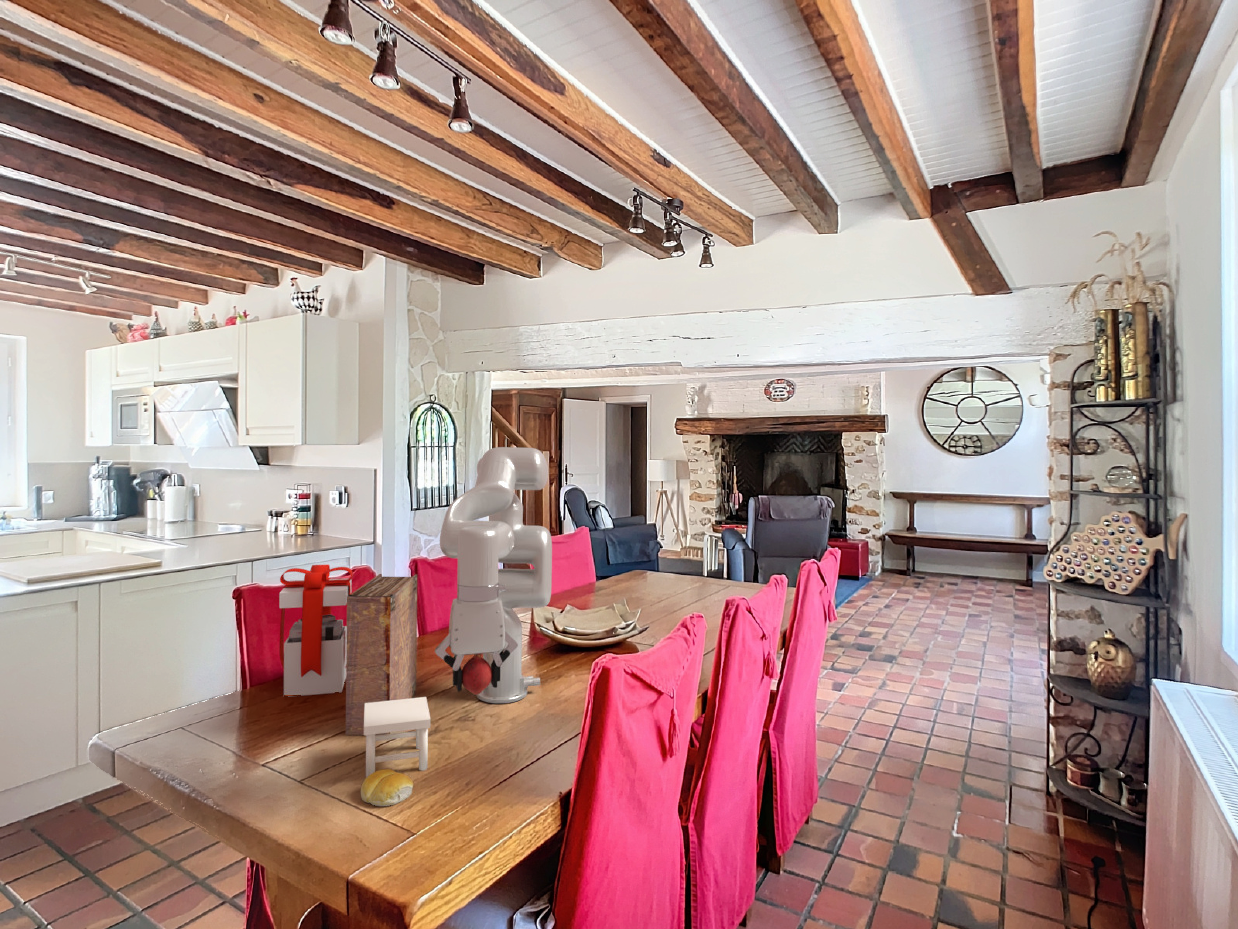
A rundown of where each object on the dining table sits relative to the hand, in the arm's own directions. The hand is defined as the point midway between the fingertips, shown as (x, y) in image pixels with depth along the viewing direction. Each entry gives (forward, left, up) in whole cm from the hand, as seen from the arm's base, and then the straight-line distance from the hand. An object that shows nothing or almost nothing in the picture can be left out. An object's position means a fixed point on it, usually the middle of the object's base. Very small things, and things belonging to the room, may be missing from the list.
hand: (476, 686), depth 129 cm
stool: (+14, -11, -17) cm, 25 cm away
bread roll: (+16, +2, -18) cm, 24 cm away
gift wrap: (+32, -60, -17) cm, 70 cm away
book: (+16, -37, -18) cm, 44 cm away
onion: (0, 0, -2) cm, 2 cm away
